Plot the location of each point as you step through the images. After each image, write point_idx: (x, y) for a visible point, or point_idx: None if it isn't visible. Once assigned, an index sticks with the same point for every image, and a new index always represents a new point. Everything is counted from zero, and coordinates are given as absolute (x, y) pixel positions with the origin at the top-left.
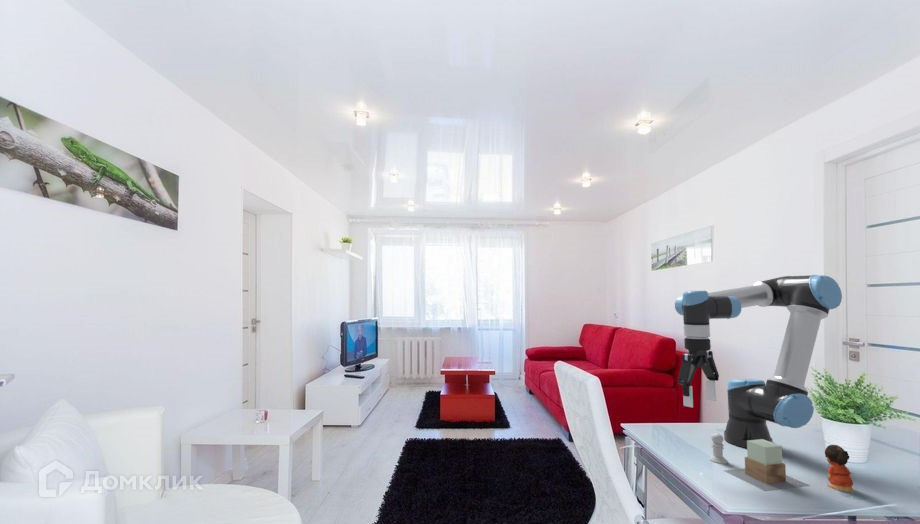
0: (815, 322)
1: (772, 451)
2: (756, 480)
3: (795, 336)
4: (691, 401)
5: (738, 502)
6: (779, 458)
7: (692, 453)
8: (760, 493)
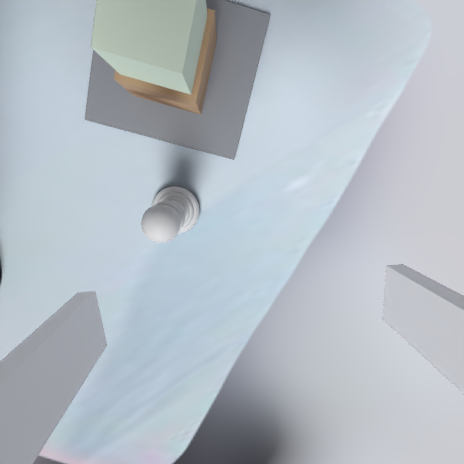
0: None
1: None
2: (219, 70)
3: None
4: (436, 282)
5: (395, 20)
6: None
7: (184, 279)
8: (287, 21)
